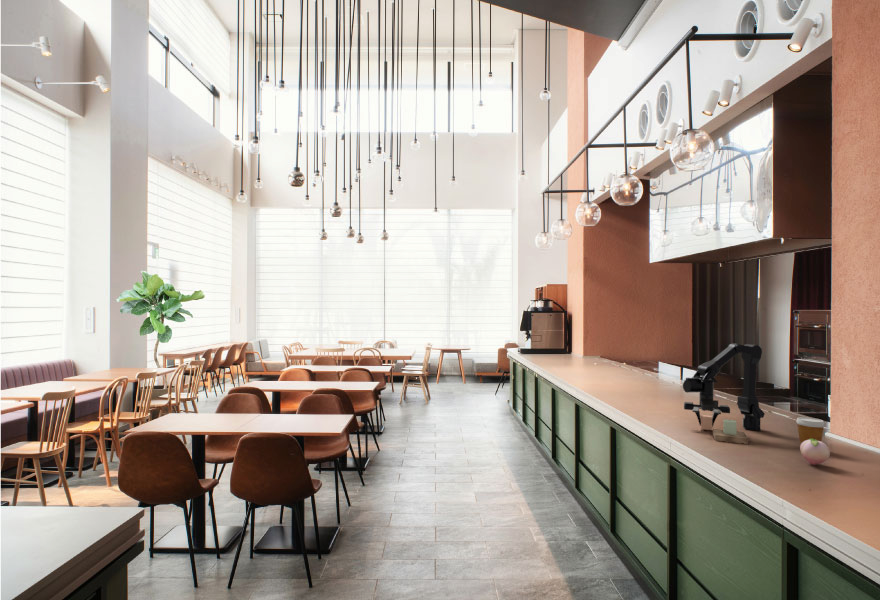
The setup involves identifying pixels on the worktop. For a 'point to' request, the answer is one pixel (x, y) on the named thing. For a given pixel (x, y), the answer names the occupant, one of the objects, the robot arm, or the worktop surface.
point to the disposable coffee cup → (810, 428)
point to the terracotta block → (706, 422)
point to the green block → (729, 426)
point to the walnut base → (730, 436)
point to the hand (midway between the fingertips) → (706, 426)
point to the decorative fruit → (814, 451)
